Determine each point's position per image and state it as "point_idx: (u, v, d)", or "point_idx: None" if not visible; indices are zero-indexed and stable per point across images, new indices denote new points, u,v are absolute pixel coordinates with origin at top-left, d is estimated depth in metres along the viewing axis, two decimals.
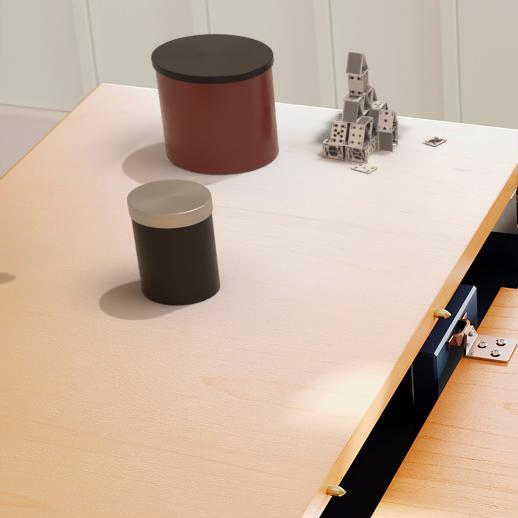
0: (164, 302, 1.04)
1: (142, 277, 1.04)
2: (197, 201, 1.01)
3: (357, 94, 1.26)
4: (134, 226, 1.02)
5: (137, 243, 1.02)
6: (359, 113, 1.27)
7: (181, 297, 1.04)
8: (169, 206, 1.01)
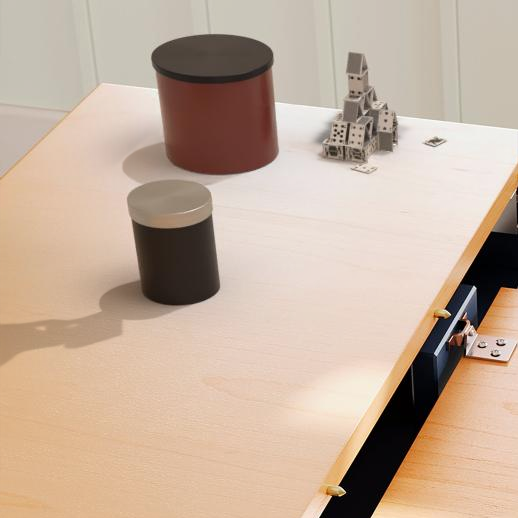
0: (164, 302, 1.04)
1: (142, 277, 1.04)
2: (197, 201, 1.01)
3: (357, 94, 1.26)
4: (134, 226, 1.02)
5: (137, 243, 1.02)
6: (359, 113, 1.27)
7: (181, 297, 1.04)
8: (169, 206, 1.01)
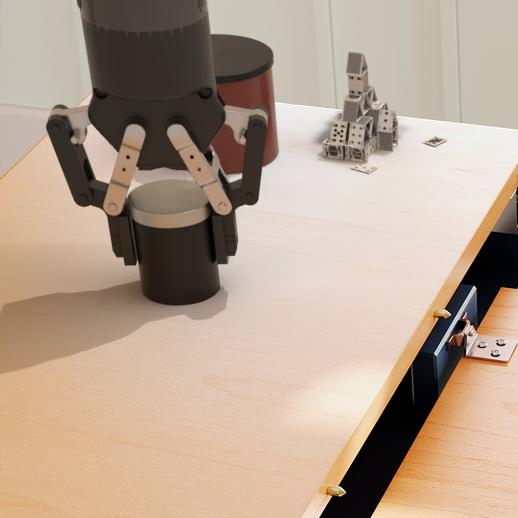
0: (164, 301, 1.04)
1: (142, 277, 1.04)
2: (198, 201, 1.01)
3: (357, 94, 1.26)
4: (134, 226, 1.02)
5: (137, 243, 1.02)
6: (359, 113, 1.27)
7: (181, 297, 1.04)
8: (169, 205, 1.01)
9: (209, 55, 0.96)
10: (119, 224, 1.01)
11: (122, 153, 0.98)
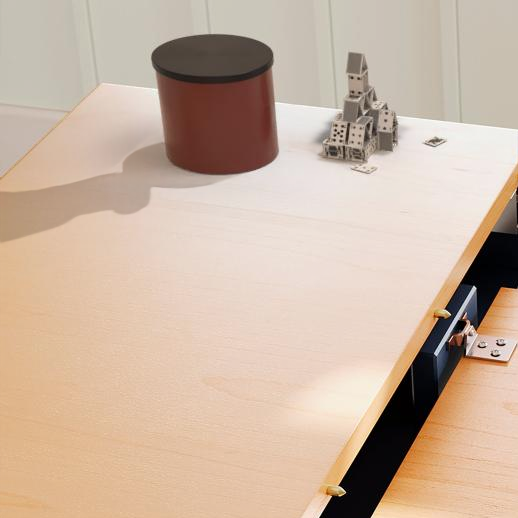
0: None
1: None
2: None
3: (357, 94, 1.26)
4: None
5: None
6: (359, 113, 1.27)
7: None
8: None
9: None
10: None
11: None
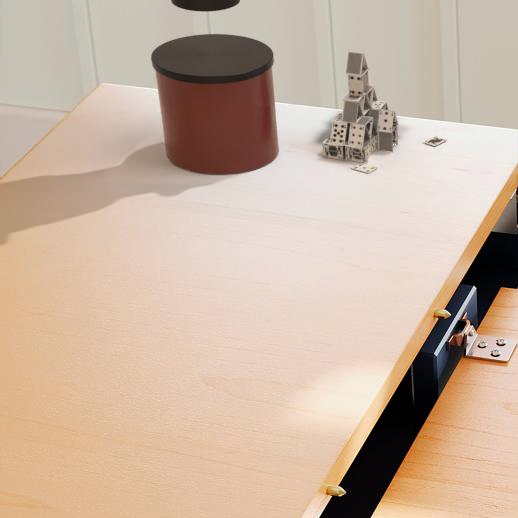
0: None
1: None
2: None
3: (357, 94, 1.26)
4: None
5: None
6: (359, 113, 1.27)
7: None
8: None
9: None
10: None
11: None
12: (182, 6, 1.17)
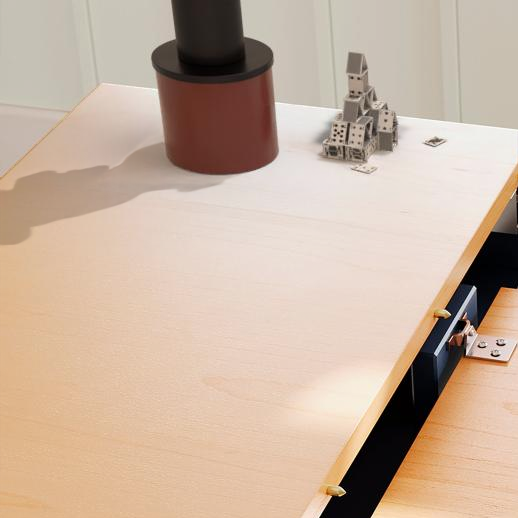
0: (195, 45, 1.19)
1: (176, 23, 1.19)
2: None
3: (357, 94, 1.26)
4: None
5: None
6: (359, 113, 1.27)
7: (210, 41, 1.19)
8: None
9: None
10: None
11: None
12: (188, 61, 1.20)
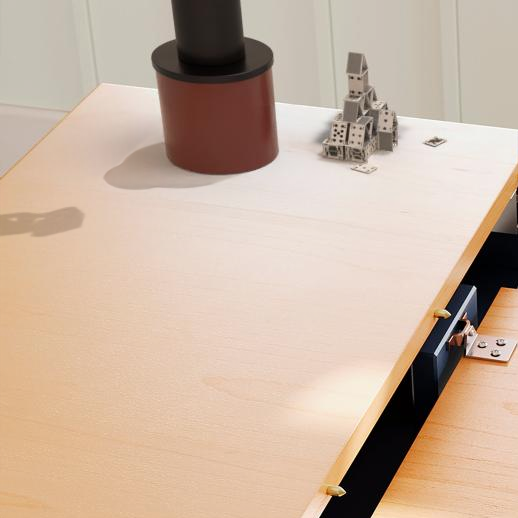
0: (195, 45, 1.19)
1: (176, 23, 1.19)
2: None
3: (357, 94, 1.26)
4: None
5: None
6: (359, 113, 1.27)
7: (210, 41, 1.19)
8: None
9: None
10: None
11: None
12: (188, 61, 1.20)
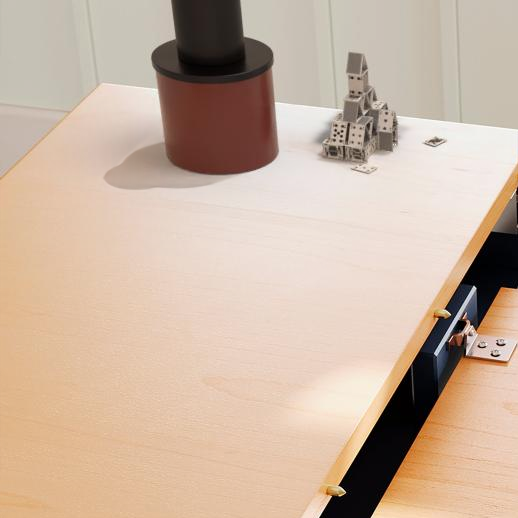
0: (195, 45, 1.19)
1: (176, 23, 1.19)
2: None
3: (357, 94, 1.26)
4: None
5: None
6: (359, 113, 1.27)
7: (210, 41, 1.19)
8: None
9: None
10: None
11: None
12: (188, 61, 1.20)
